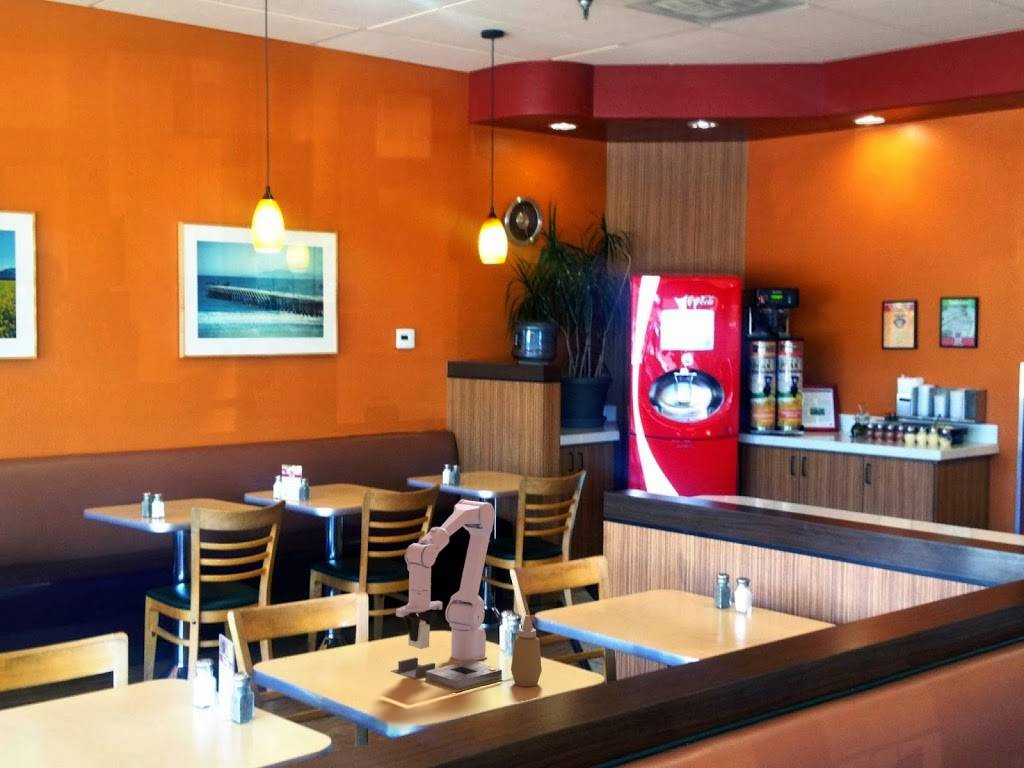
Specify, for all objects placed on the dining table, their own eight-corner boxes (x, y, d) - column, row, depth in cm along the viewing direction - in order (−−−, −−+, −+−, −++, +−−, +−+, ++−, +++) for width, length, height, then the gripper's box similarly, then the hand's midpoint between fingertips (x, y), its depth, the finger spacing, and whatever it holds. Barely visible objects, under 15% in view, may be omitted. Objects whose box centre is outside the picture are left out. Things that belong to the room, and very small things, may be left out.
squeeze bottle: (542, 680, 333) (544, 612, 332) (540, 689, 325) (541, 620, 324) (512, 678, 334) (513, 611, 333) (508, 687, 326) (510, 618, 325)
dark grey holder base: (418, 667, 343) (418, 655, 343) (443, 675, 336) (443, 662, 336) (390, 674, 336) (390, 661, 336) (414, 682, 329) (414, 669, 329)
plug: (416, 643, 338) (417, 618, 338) (429, 647, 334) (429, 621, 334) (408, 645, 336) (408, 619, 336) (420, 649, 332) (421, 623, 332)
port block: (470, 671, 340) (470, 659, 340) (501, 681, 332) (501, 668, 331) (425, 682, 329) (425, 670, 329) (456, 693, 320) (457, 680, 320)
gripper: (430, 582, 342) (429, 632, 343) (388, 590, 332) (388, 641, 333) (447, 587, 337) (446, 637, 338) (406, 594, 327) (405, 646, 328)
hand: (418, 639), depth 335 cm, fingers closed on plug, 3 cm apart
